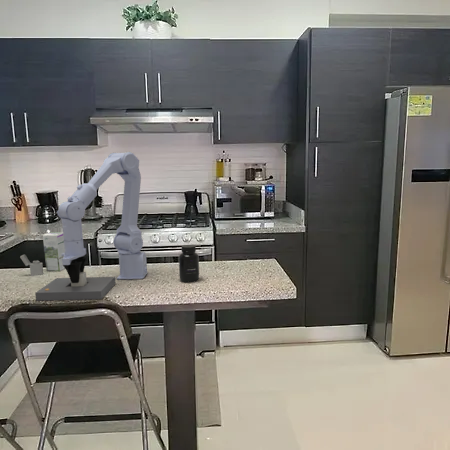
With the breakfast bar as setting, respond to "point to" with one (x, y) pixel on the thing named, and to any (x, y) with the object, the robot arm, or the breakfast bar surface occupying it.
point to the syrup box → (54, 251)
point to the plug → (80, 280)
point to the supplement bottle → (189, 264)
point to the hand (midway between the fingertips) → (77, 281)
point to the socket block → (76, 289)
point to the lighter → (33, 266)
